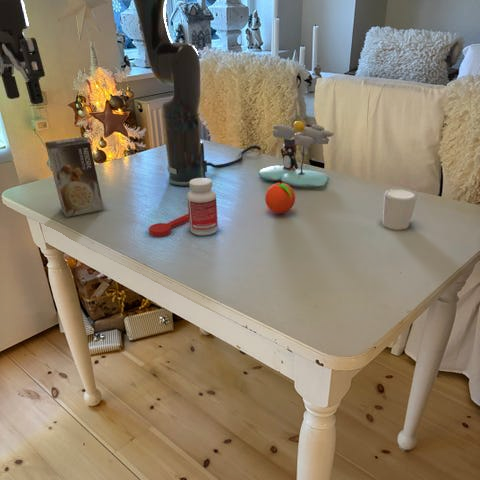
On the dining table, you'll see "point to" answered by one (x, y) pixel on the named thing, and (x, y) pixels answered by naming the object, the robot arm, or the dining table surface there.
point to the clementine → (280, 198)
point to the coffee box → (75, 176)
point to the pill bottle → (202, 207)
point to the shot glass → (398, 208)
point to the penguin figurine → (288, 171)
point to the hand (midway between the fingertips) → (25, 100)
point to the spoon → (167, 226)
